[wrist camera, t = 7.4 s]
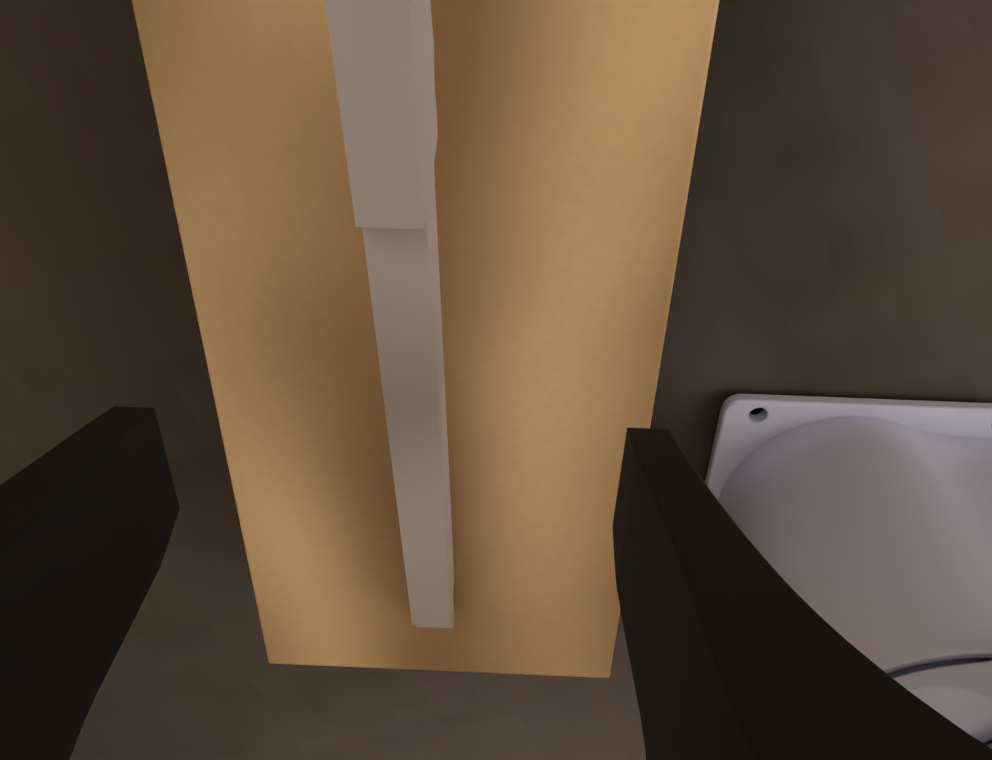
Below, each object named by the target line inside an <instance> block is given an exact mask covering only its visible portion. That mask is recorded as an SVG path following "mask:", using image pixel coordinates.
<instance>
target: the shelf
mask: <svg viewBox="0 0 992 760" xmlns="http://www.w3.org/2000/svg"><path fill="white" fill-rule="evenodd" d="M132 4H133V9H134V14H135V19H136V24H137V28H138V33H139V38H140V43H141V48H142V53H143V57H144V62H145V67H146V72H147V77H148V82H149V86H150V91H151V96H152V101H153V106H154V110H155V115H156V120H157V125H158V130H159V135H160V139H161V144H162V149H163V154H164V159H165V164H166V168H167V173H168V178H169V183H170V188H171V193H172V197H173V202H174V207H175V212H176V217H177V221H178V226H179V231H180V236H181V241H182V246H183V250H184V255H185V260H186V265H187V270H188V275H189V279H190V284H191V289H192V294H193V299H194V304H195V308H196V313H197V318H198V323H199V328H200V333H201V337H202V342H203V347H204V352H205V357H206V361H207V366H208V371H209V376H210V381H211V386H212V390H213V395H214V400H215V405H216V410H217V415H218V419H219V424H220V429H221V434H222V439H223V444H224V448H225V453H226V458H227V463H228V468H229V472H230V477H231V482H232V487H233V492H234V497H235V501H236V506H237V511H238V516H239V521H240V526H241V530H242V535H243V540H244V545H245V550H246V555H247V559H248V564H249V569H250V574H251V579H252V584H253V588H254V593H255V598H256V603H257V608H258V612H259V617H260V622H261V627H262V632H263V637H264V641H265V646H266V651H267V656H268V661H269V663H275V664H298V665H321V666H344V667H367V668H390V669H413V670H436V671H459V672H482V673H505V674H528V675H551V676H574V677H597V678H609V677H610V672H611V666H612V660H613V653H614V647H615V641H616V635H617V629H618V623H619V616H620V610H621V609H620V604H619V598H618V593H617V587H616V576H615V562H614V546H613V529H612V525H613V518H614V512H615V505H616V498H617V492H618V485H619V478H620V472H621V465H622V458H623V452H624V445H625V439H626V432H627V428H650V425H651V419H652V413H653V407H654V401H655V394H656V388H657V382H658V376H659V370H660V364H661V357H662V351H663V345H664V339H665V333H666V327H667V320H668V314H669V308H670V302H671V296H672V290H673V283H674V277H675V271H676V265H677V259H678V253H679V246H680V240H681V234H682V228H683V222H684V216H685V209H686V203H687V197H688V191H689V185H690V179H691V172H692V166H693V160H694V154H695V148H696V142H697V135H698V129H699V123H700V117H701V111H702V105H703V98H704V92H705V86H706V80H707V74H708V68H709V61H710V55H711V49H712V43H713V37H714V31H715V25H716V18H717V12H718V6H719V0H430V4H431V16H432V28H433V40H434V81H435V97H436V110H437V127H438V136H437V147H436V154H435V161H434V175H435V195H436V215H437V236H438V256H439V276H440V297H441V317H442V338H443V358H444V378H445V399H446V419H447V439H448V458H449V478H450V498H451V517H452V537H453V557H454V590H453V600H454V628H427V627H417V626H416V625H413V624H412V619H411V612H410V604H409V596H408V588H407V580H406V572H405V564H404V557H403V549H402V541H401V533H400V525H399V517H398V509H397V501H396V493H395V485H394V477H393V469H392V461H391V453H390V445H389V438H388V430H387V422H386V414H385V406H384V398H383V390H382V382H381V374H380V366H379V358H378V350H377V342H376V334H375V326H374V318H373V310H372V302H371V294H370V286H369V278H368V270H367V262H366V254H365V246H364V238H363V230H362V227H356V225H355V218H354V210H353V203H352V196H351V188H350V181H349V174H348V166H347V159H346V152H345V144H344V137H343V130H342V122H341V115H340V108H339V100H338V93H337V86H336V78H335V71H334V64H333V56H332V49H331V42H330V34H329V27H328V20H327V12H326V5H325V0H132Z"/></svg>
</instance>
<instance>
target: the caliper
mask: <svg viewBox="0 0 992 760" xmlns="http://www.w3.org/2000/svg"><path fill="white" fill-rule="evenodd" d="M325 5H326V12H327V20H328V27H329V34H330V42H331V49H332V56H333V64H334V71H335V78H336V86H337V93H338V100H339V108H340V115H341V122H342V130H343V137H344V144H345V152H346V159H347V166H348V174H349V181H350V188H351V196H352V203H353V210H354V218H355V225H356V227H362V230H363V238H364V246H365V254H366V262H367V270H368V278H369V286H370V294H371V302H372V310H373V318H374V326H375V334H376V342H377V350H378V358H379V366H380V374H381V382H382V390H383V398H384V406H385V414H386V422H387V430H388V438H389V445H390V453H391V461H392V469H393V477H394V485H395V493H396V501H397V509H398V517H399V525H400V533H401V541H402V549H403V557H404V564H405V572H406V580H407V588H408V596H409V604H410V612H411V619H412V624H413V625H416V626H417V627H427V628H454V600H453V590H454V557H453V537H452V517H451V498H450V478H449V458H448V439H447V419H446V399H445V378H444V358H443V338H442V317H441V297H440V276H439V256H438V236H437V215H436V195H435V175H434V161H435V154H436V147H437V136H438V127H437V110H436V97H435V81H434V40H433V28H432V16H431V4H430V0H325Z"/></svg>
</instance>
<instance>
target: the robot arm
mask: <svg viewBox="0 0 992 760" xmlns="http://www.w3.org/2000/svg"><path fill="white" fill-rule="evenodd" d="M755 408H763V410H762V411H761V412H760V413H758V414H749V413H750V412H751V411H752V410H753V409H755ZM178 511H179V504H178V500H177V496H176V492H175V488H174V484H173V480H172V476H171V472H170V469H169V465H168V461H167V457H166V453H165V449H164V445H163V441H162V437H161V433H160V429H159V425H158V421H157V418H156V414H155V410H154V408H138V407H113V408H111V409H110V410H108V411H107V412H105V413H103V414H102V415H100V416H99V417H97V418H96V419H94V420H93V421H91V422H90V423H88V424H87V425H85V426H84V427H83V428H81V429H80V430H78V431H77V432H75V433H74V434H73V435H71V436H70V437H68V438H67V439H66V440H64V441H63V442H61V443H60V444H59V445H57V446H56V447H54V448H53V449H52V450H50V451H49V452H47V453H46V454H44V455H43V456H42V457H40V458H39V459H37V460H36V461H34V462H33V463H32V464H30V465H29V466H27V467H26V468H24V469H23V470H21V471H20V472H19V473H17V474H16V475H14V476H13V477H11V478H10V479H9V480H7V481H6V482H4V483H3V484H1V485H0V760H69V759H70V757H71V754H72V751H73V749H74V746H75V743H76V741H77V738H78V736H79V733H80V730H81V728H82V725H83V723H84V720H85V718H86V716H87V714H88V712H89V709H90V707H91V705H92V703H93V700H94V698H95V696H96V694H97V692H98V690H99V688H100V686H101V684H102V682H103V680H104V678H105V676H106V674H107V672H108V670H109V668H110V666H111V664H112V662H113V660H114V658H115V656H116V654H117V652H118V650H119V648H120V646H121V644H122V642H123V640H124V638H125V636H126V634H127V632H128V630H129V628H130V626H131V624H132V622H133V620H134V618H135V616H136V614H137V612H138V610H139V608H140V606H141V604H142V602H143V600H144V598H145V596H146V594H147V592H148V590H149V588H150V586H151V584H152V582H153V580H154V578H155V576H156V574H157V572H158V569H159V567H160V565H161V562H162V559H163V557H164V554H165V551H166V548H167V545H168V542H169V540H170V536H171V533H172V530H173V527H174V524H175V521H176V517H177V514H178ZM612 529H613V546H614V562H615V576H616V587H617V593H618V598H619V604H620V609H621V615H622V620H623V626H624V631H625V636H626V642H627V647H628V652H629V657H630V663H631V668H632V673H633V679H634V684H635V689H636V694H637V700H638V705H639V710H640V716H641V722H642V729H643V736H644V742H645V750H646V760H992V403H974V402H948V401H922V400H896V399H870V398H844V397H818V396H792V395H766V394H734V395H732V396H730V397H728V398H727V399H726V400H725V401H724V402H723V404H722V406H721V410H720V414H719V419H718V423H717V428H716V433H715V437H714V442H713V446H712V451H711V455H710V460H709V465H708V469H707V474H706V478H705V482H704V480H703V479H702V478H701V476H700V475H699V473H698V472H697V470H696V469H695V468H694V466H693V465H692V463H691V462H690V460H689V459H688V457H687V456H686V454H685V453H684V451H683V450H682V448H681V447H680V445H679V444H678V442H677V440H676V439H675V437H674V436H673V435H672V434H671V432H670V431H669V430H668V429H652V428H627V432H626V439H625V445H624V452H623V458H622V465H621V472H620V478H619V485H618V492H617V498H616V505H615V512H614V518H613V525H612Z"/></svg>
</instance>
